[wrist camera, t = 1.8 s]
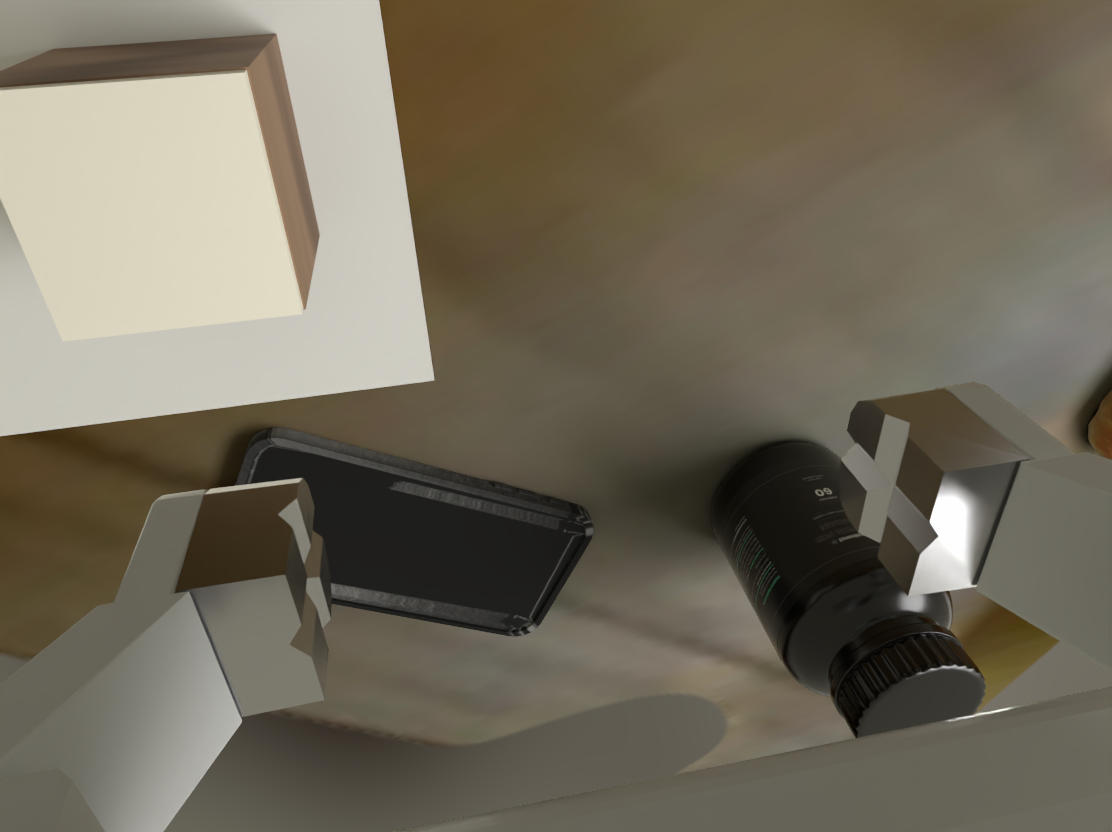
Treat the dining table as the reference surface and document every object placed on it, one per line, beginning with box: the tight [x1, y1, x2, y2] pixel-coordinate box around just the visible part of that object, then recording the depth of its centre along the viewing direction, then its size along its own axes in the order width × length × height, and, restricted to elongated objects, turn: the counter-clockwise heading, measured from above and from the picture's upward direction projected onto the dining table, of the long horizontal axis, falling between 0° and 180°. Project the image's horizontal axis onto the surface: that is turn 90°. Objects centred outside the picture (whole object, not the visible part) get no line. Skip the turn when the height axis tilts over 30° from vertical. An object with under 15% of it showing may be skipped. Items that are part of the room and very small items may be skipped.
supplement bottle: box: [711, 442, 986, 738], centre depth 32 cm, size 7×7×12 cm
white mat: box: [0, 0, 434, 436], centre depth 23 cm, size 23×18×1 cm
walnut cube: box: [0, 34, 320, 342], centre depth 21 cm, size 6×6×6 cm
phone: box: [235, 427, 594, 636], centre depth 34 cm, size 8×1×15 cm
